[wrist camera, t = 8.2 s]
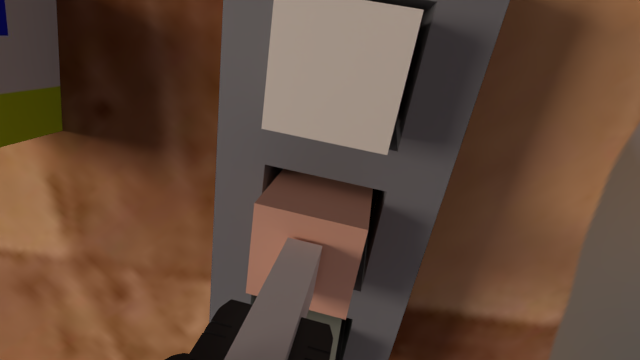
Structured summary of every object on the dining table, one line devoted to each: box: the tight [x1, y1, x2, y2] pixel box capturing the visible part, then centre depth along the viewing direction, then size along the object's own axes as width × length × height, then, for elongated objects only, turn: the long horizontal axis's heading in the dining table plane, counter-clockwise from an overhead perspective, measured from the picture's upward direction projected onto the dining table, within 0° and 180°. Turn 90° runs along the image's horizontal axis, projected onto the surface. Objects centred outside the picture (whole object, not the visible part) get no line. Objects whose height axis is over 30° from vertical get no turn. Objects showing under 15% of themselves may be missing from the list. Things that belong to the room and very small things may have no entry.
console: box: [209, 0, 510, 360], centre depth 20 cm, size 26×11×6 cm, turn 171°
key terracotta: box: [246, 169, 373, 320], centre depth 18 cm, size 5×5×8 cm
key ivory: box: [261, 0, 424, 155], centre depth 15 cm, size 5×5×8 cm
